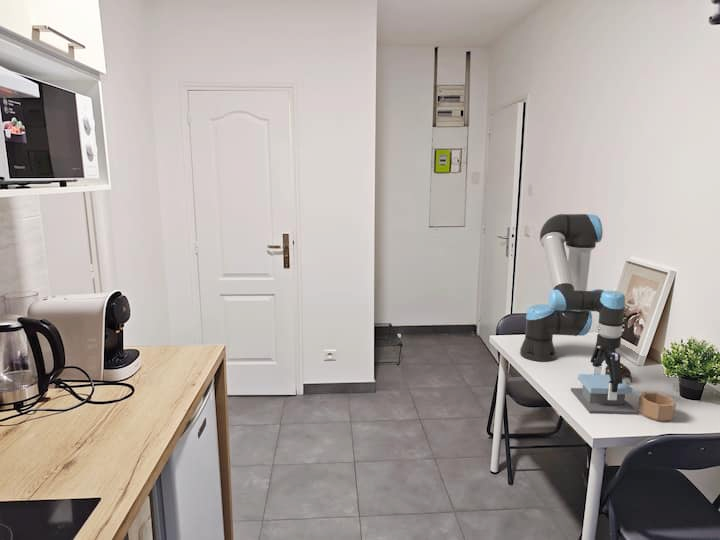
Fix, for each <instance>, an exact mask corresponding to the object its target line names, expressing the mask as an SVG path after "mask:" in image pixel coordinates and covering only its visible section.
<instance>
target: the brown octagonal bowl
mask: <svg viewBox="0 0 720 540" xmlns="http://www.w3.org/2000/svg"><path fill="white" fill-rule="evenodd" d="M676 406H677V401H676V400H675V399H673V398H672V397H670V396H669V395H666V394H662V393H658V392H650V391H648V392H647V391H643V392H642V393H641V394H639V396H638V404H637V410H638V411H639V412H640V414H641V415H642V416H643V417H645V418H647V419H648V420H651V421H656V422H669V421H671V420H672V419H673V418H674V417H675V413H676Z"/></svg>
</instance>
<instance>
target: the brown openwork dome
mask: <svg viewBox="0 0 720 540" xmlns="http://www.w3.org/2000/svg"><path fill="white" fill-rule="evenodd" d="M620 365H621V374H622V380H624V378H625V379H626V378H627V379H628V380H630V383H633V377H632V374H631V373H632V372H631V370H630V369H629V368H628V367H627V366H626V365H624V364H623V363H622V362H620ZM604 370H605V373H604V375H609V370H608V366H607V365H606V367H605V369H604Z"/></svg>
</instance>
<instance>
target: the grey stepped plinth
mask: <svg viewBox="0 0 720 540" xmlns="http://www.w3.org/2000/svg"><path fill="white" fill-rule="evenodd" d="M570 391H571V393H572V394H573V395H574V396H575V397H576V399H577V400H578V401H579V402H580V403H581V404H582V405H583V408H585V410H586V411H587V412H588V413H589V414H599V415H600V414H601V415H603V414H606V415H639V414H638V411H637V410H636V409H635V408H634V407H633V405H632V404H630V403H629V401H627V400H626V394H617V400H608V394H594V393H590V392H589V391H588V390H587V389H586V388H585V386H584V385H583V384H582V388H581V387H570Z"/></svg>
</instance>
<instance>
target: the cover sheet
mask: <svg viewBox="0 0 720 540" xmlns="http://www.w3.org/2000/svg"><path fill="white" fill-rule="evenodd" d="M577 380H578V381H579V382H580V383H581V384H582V386H583V385H584V386H585V388H586V389H587V390H588V391H589V392H590V393H594V394H608V391H609V381H611V379H610V375H605V374H601V375H596V374H593V373H592V374H590V373H589V374H587V373H586V374H585V373H584V374H583V373H579V374H577ZM633 390H634V389H633V387H631V386H630V385H629V384H628V383H626V382H625V381H624V379H622V384H618V392H617V394H625V395H633Z"/></svg>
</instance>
